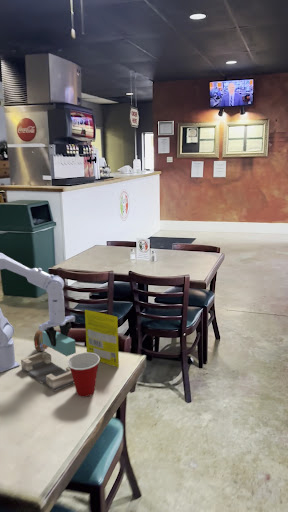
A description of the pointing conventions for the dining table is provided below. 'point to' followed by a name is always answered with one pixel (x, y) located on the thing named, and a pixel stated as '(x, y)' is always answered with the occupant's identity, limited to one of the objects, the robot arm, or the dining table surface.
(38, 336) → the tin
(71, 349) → the slat
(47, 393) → the dining table surface
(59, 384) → the cradle
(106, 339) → the food package
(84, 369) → the plastic cup
